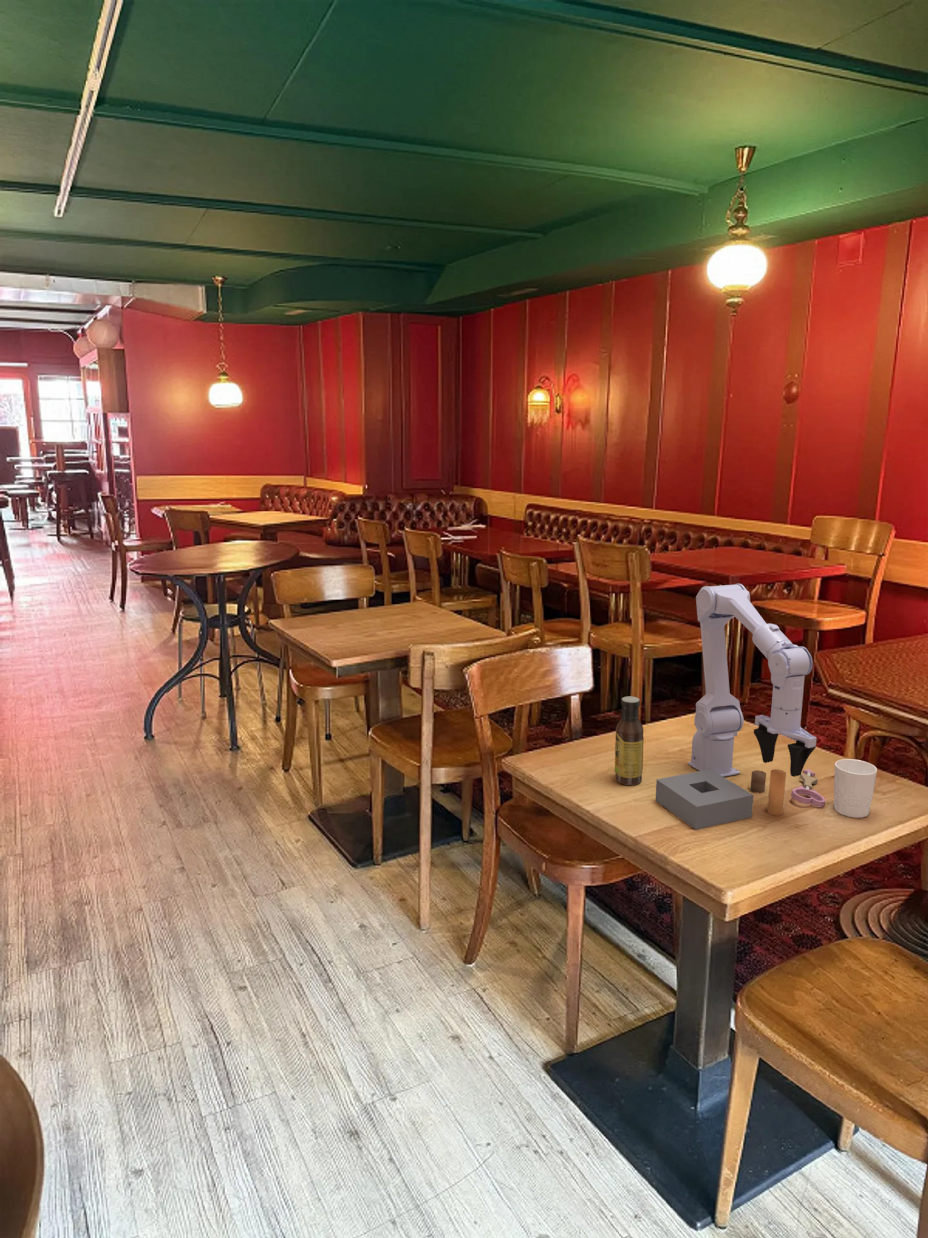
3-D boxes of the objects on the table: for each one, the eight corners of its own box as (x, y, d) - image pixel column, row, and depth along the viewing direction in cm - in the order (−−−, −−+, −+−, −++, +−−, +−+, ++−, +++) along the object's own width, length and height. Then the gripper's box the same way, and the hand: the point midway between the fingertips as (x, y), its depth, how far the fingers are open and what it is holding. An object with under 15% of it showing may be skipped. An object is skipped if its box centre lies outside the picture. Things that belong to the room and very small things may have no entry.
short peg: (747, 788, 182) (748, 771, 181) (758, 786, 183) (759, 769, 182) (756, 793, 179) (758, 777, 178) (767, 791, 180) (769, 774, 179)
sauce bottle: (618, 773, 190) (621, 692, 186) (645, 778, 187) (648, 696, 183) (610, 783, 185) (613, 700, 180) (637, 789, 182) (641, 704, 177)
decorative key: (826, 771, 188) (825, 805, 170) (825, 776, 188) (823, 810, 171) (796, 762, 191) (791, 794, 173) (794, 766, 191) (790, 799, 173)
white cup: (852, 822, 166) (857, 777, 163) (822, 806, 173) (826, 762, 170) (880, 815, 169) (885, 770, 166) (850, 799, 176) (854, 756, 173)
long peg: (764, 810, 171) (767, 770, 169) (775, 808, 172) (778, 768, 170) (774, 816, 168) (777, 776, 166) (785, 814, 170) (789, 774, 167)
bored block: (655, 800, 176) (656, 779, 175) (709, 790, 181) (710, 769, 180) (695, 829, 163) (696, 806, 162) (751, 817, 168) (753, 795, 167)
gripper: (745, 698, 170) (741, 759, 173) (799, 720, 157) (794, 785, 160) (771, 693, 173) (766, 753, 176) (826, 714, 160) (820, 779, 163)
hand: (781, 768), depth 168 cm, fingers open, 7 cm apart
